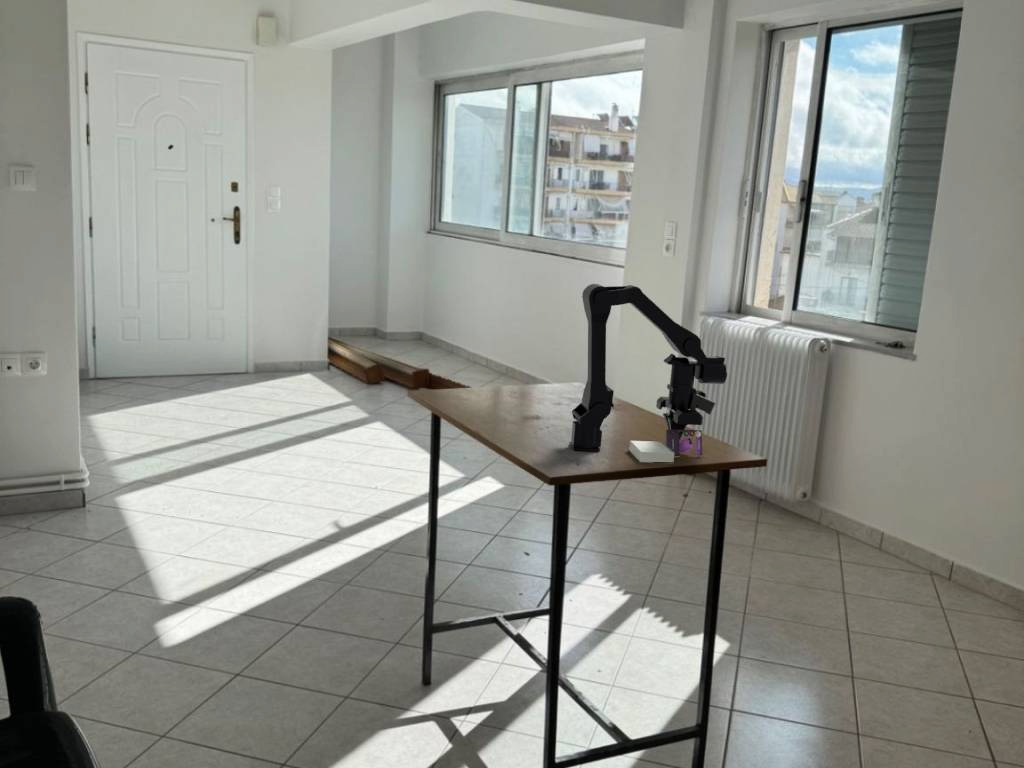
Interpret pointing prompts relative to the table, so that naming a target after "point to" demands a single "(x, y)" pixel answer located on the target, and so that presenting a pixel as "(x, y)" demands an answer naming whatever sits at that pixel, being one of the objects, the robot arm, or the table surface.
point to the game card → (683, 441)
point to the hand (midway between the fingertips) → (675, 444)
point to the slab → (651, 451)
